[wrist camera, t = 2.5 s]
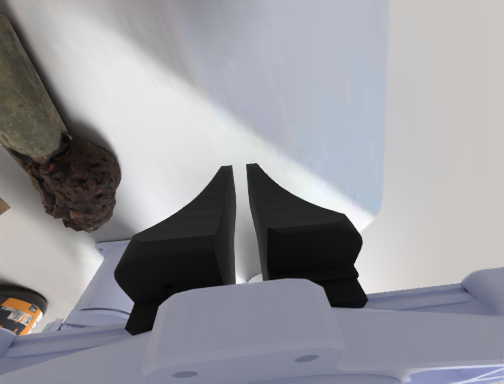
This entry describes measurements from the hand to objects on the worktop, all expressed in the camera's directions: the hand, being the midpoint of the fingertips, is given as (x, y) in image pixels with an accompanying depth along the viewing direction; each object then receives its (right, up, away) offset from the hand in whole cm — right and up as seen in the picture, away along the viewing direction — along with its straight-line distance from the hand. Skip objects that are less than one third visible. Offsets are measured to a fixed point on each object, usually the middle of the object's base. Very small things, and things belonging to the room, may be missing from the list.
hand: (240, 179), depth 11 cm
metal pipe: (-17, +4, +7) cm, 19 cm away
